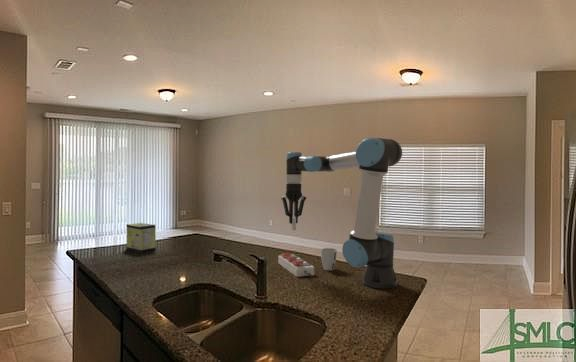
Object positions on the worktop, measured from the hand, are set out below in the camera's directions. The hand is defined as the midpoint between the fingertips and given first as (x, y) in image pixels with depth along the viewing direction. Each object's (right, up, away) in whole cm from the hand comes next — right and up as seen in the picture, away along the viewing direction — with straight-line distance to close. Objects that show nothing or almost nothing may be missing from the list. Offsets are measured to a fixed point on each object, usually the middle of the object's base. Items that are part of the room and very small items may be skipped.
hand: (293, 229), depth 200 cm
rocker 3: (+2, -15, -6) cm, 16 cm away
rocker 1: (-4, -15, +11) cm, 19 cm away
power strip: (+2, -20, +1) cm, 21 cm away
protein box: (-93, -18, +46) cm, 105 cm away
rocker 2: (-1, -15, +3) cm, 15 cm away
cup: (+18, -21, +3) cm, 28 cm away
